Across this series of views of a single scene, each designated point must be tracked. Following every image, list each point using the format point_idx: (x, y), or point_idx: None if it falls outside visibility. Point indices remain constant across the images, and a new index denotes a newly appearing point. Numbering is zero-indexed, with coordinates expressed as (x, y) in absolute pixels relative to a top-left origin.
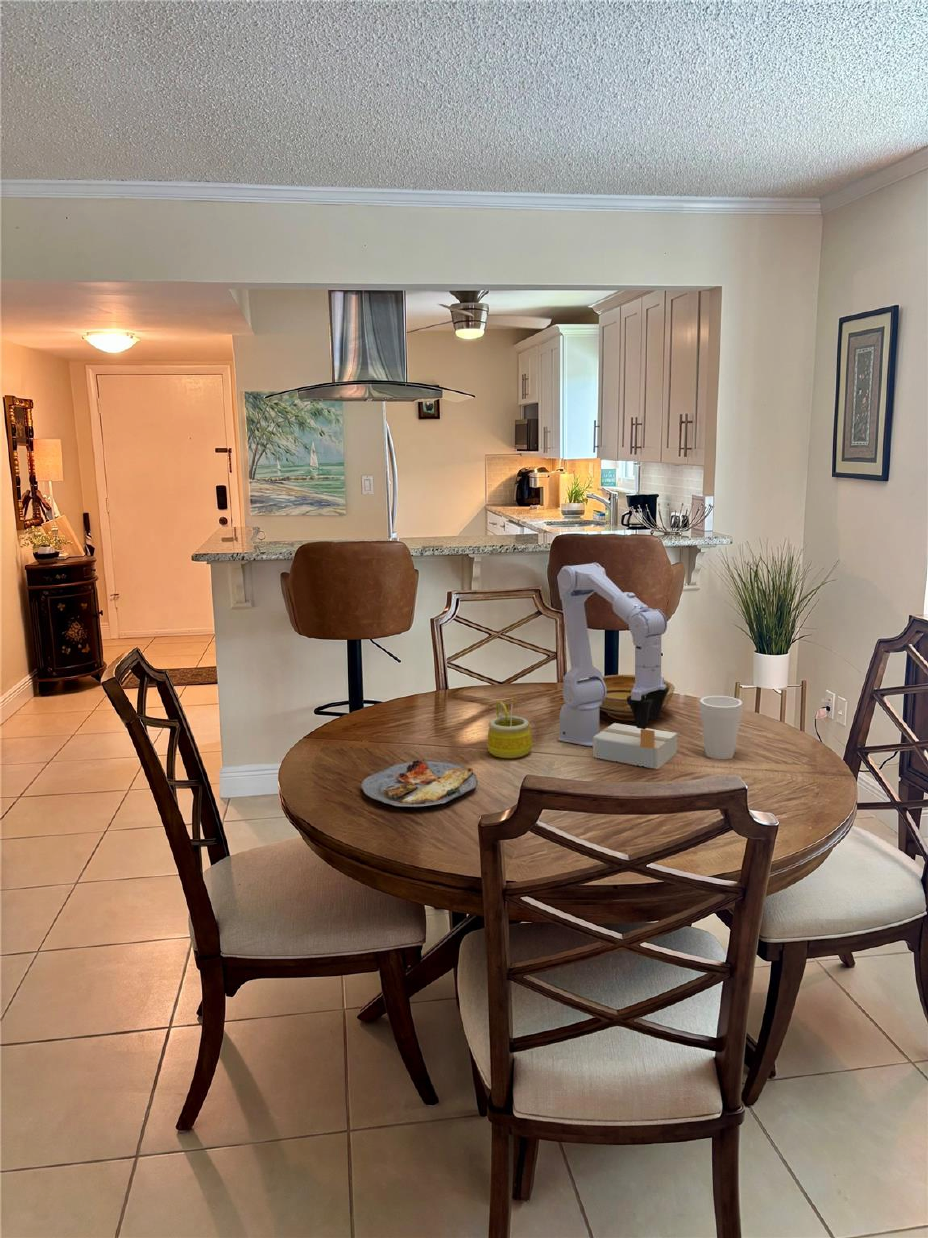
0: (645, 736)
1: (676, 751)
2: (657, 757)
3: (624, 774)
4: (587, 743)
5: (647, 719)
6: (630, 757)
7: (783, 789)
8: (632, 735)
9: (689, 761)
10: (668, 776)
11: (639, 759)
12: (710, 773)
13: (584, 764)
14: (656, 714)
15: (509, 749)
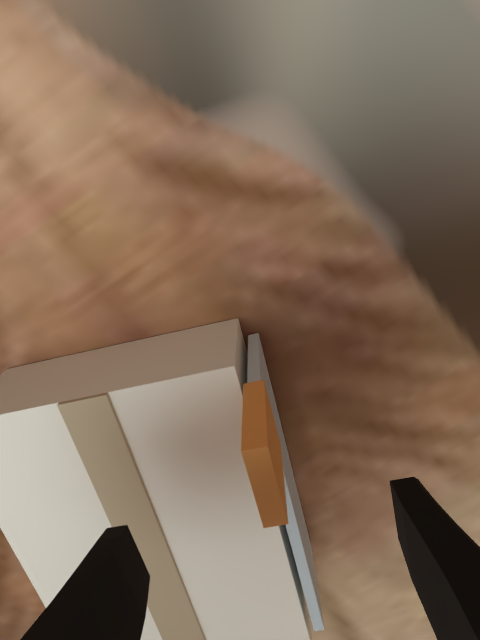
0: (277, 465)
1: (2, 373)
2: (236, 343)
3: (386, 386)
4: None
5: (445, 538)
6: (283, 447)
7: None
8: (168, 553)
9: (39, 269)
10: (278, 230)
11: (274, 408)
12: (88, 86)
13: (386, 543)
14: (119, 577)
15: None
